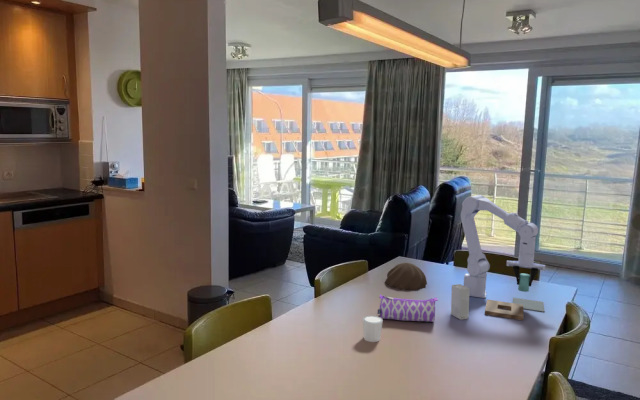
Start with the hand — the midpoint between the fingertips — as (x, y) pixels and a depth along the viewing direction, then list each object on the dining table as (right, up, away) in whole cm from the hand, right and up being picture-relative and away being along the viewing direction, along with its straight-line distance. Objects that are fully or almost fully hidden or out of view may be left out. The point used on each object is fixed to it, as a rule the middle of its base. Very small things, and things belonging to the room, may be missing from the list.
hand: (523, 284), depth 194 cm
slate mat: (+3, -9, +3) cm, 10 cm away
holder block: (-10, -10, -4) cm, 14 cm away
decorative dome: (-43, -5, +29) cm, 52 cm away
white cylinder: (-66, -13, -32) cm, 75 cm away
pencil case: (-51, -11, -14) cm, 54 cm away
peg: (0, -2, 0) cm, 2 cm away
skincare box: (-30, -11, -11) cm, 34 cm away
